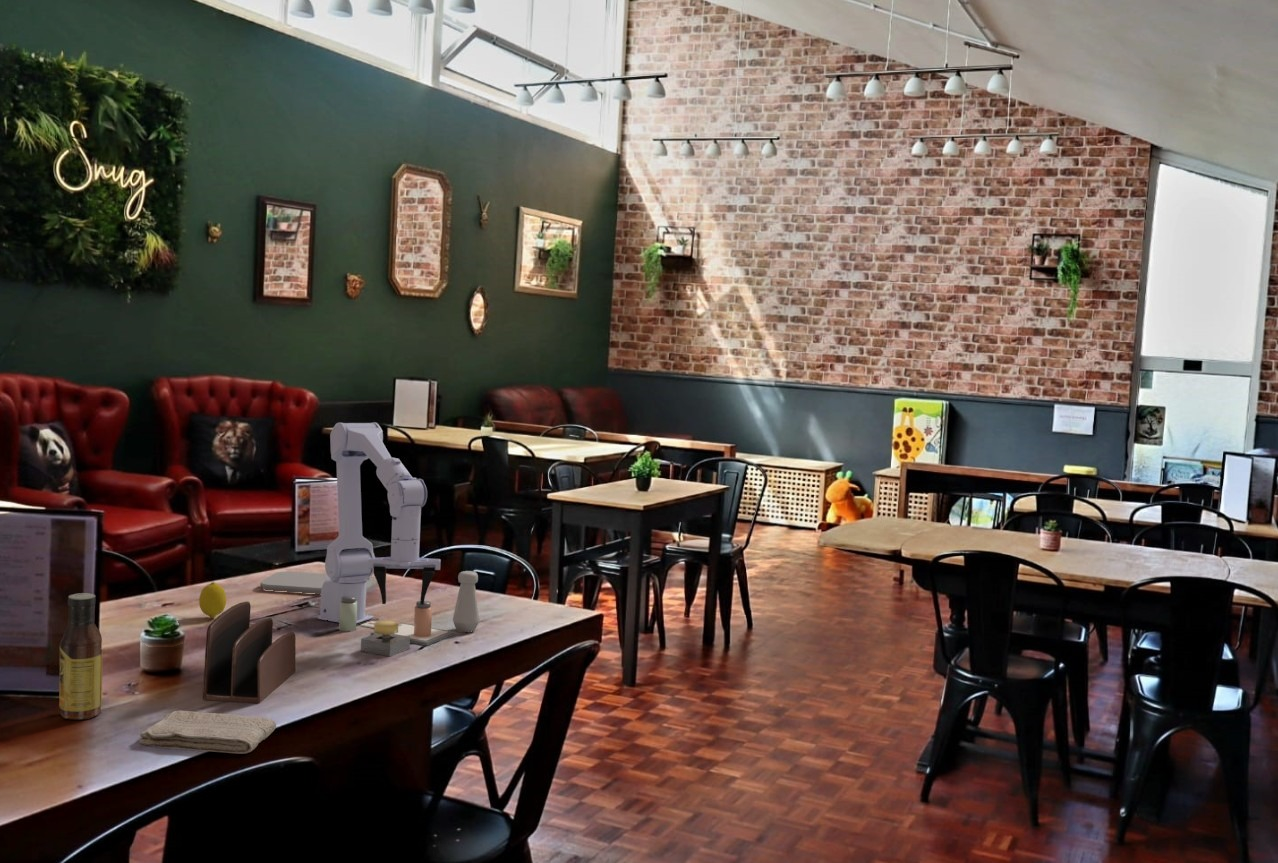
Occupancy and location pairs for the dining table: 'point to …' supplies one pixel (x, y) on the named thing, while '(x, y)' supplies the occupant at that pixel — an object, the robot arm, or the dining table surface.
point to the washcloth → (208, 732)
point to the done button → (386, 628)
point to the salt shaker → (466, 603)
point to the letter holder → (245, 657)
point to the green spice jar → (348, 613)
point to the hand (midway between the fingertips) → (403, 603)
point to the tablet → (301, 582)
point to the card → (369, 624)
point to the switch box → (385, 644)
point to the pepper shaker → (423, 619)
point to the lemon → (212, 600)
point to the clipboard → (435, 636)
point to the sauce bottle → (80, 661)
